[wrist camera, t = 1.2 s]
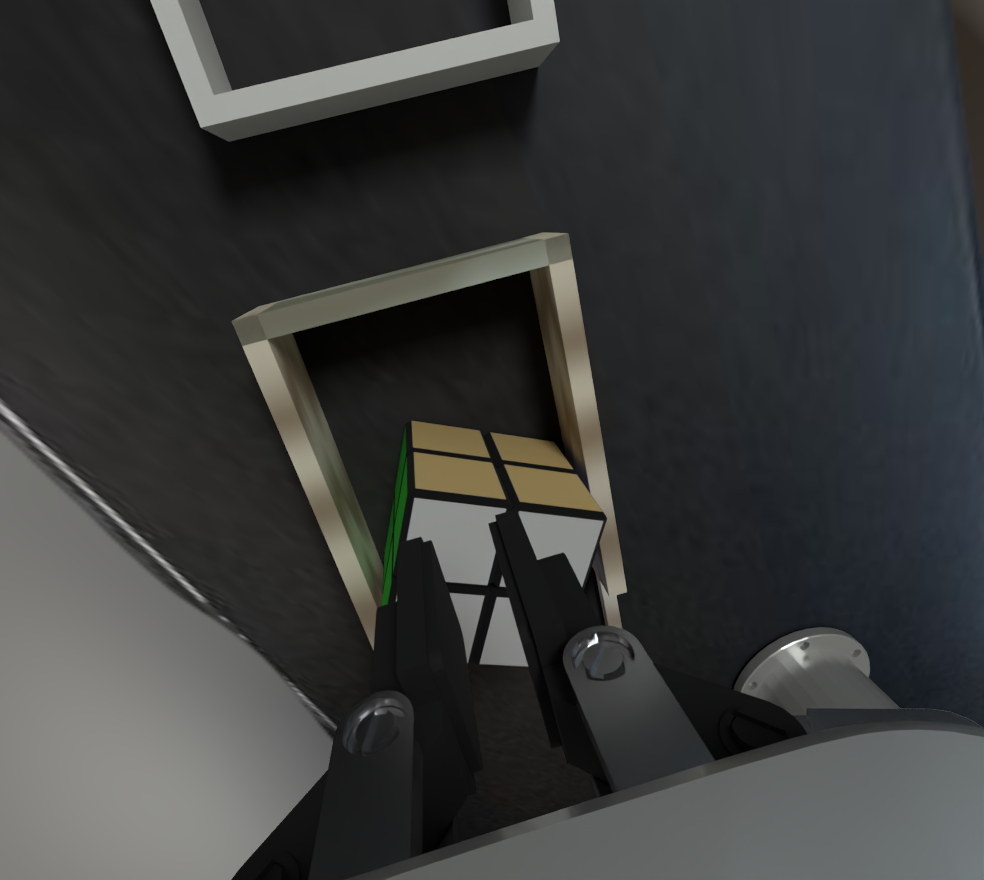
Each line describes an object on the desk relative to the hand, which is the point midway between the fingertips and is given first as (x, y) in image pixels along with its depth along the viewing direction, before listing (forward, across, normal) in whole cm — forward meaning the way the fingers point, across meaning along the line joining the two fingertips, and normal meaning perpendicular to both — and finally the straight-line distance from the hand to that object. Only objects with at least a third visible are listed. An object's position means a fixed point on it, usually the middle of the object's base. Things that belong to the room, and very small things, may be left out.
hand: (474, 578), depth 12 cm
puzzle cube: (+21, 0, +10) cm, 23 cm away
